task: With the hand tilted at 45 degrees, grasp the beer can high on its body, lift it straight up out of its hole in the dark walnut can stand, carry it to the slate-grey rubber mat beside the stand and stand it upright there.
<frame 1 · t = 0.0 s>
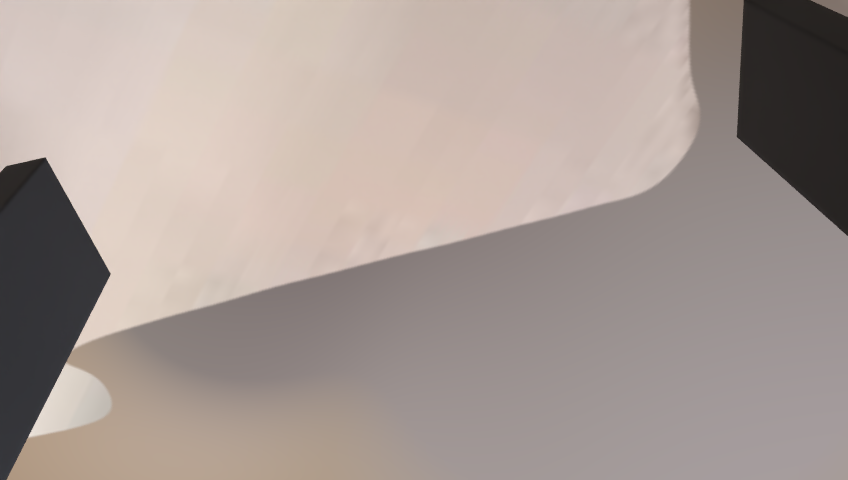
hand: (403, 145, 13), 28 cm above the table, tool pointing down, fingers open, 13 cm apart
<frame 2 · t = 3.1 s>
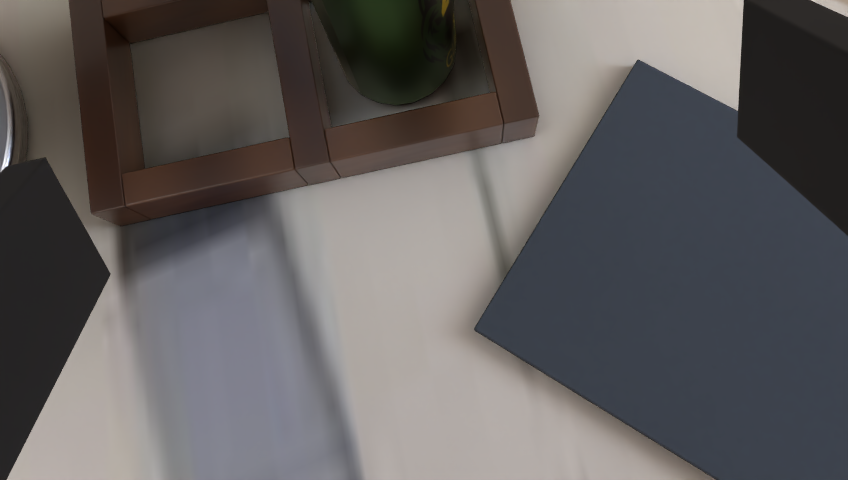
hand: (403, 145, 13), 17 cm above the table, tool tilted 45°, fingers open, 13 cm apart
beer can: (399, 58, 33), resting in can stand
slate mat: (767, 313, 29), on the table
can stand: (306, 77, 33), on the table
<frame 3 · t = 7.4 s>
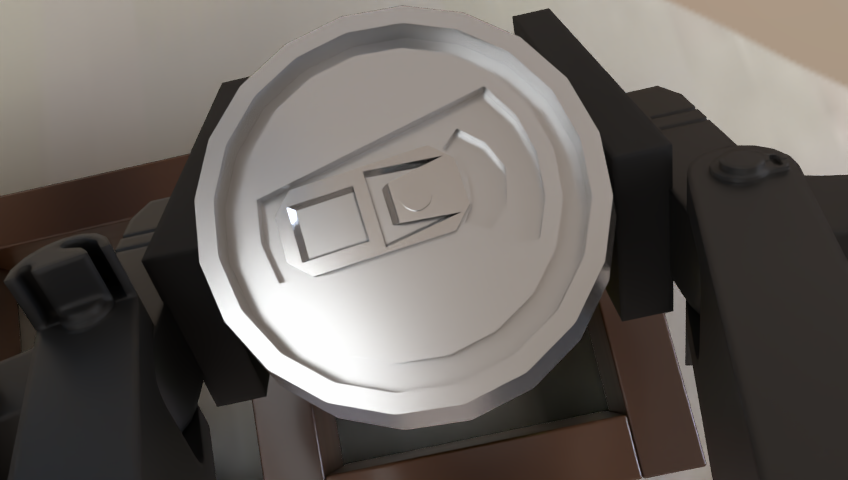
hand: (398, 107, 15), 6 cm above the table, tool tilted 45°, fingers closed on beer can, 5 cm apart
beer can: (447, 306, 20), resting in can stand, touching gripper
can stand: (296, 337, 20), on the table
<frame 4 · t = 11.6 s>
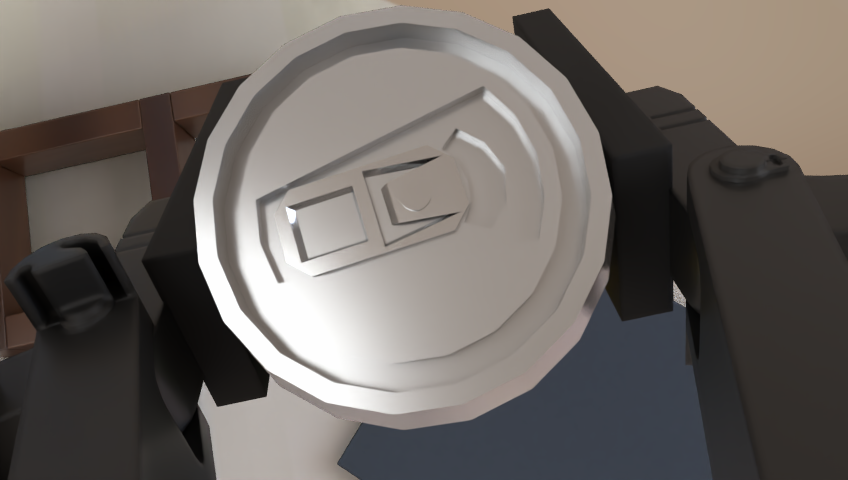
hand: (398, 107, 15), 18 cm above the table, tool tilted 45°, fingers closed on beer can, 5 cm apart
beer can: (446, 306, 20), point 12 cm above the table, touching gripper
slate mat: (612, 448, 31), on the table
can stand: (190, 212, 34), on the table
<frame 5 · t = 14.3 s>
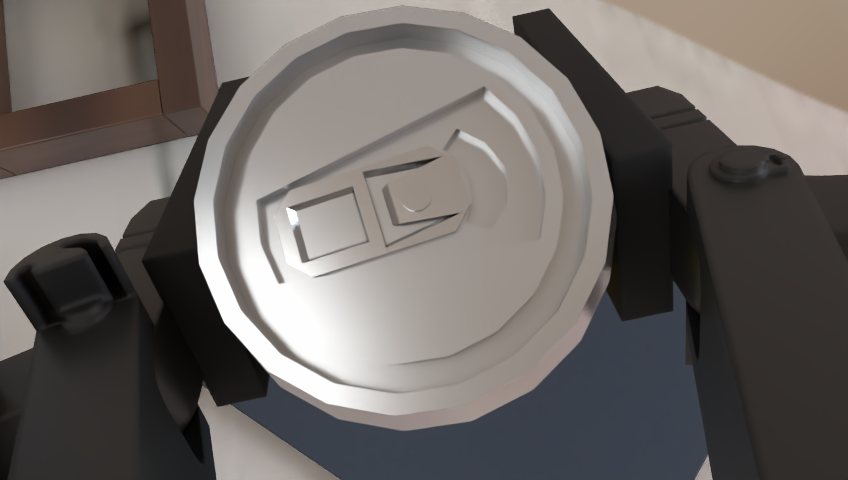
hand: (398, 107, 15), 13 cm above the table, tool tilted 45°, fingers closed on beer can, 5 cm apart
beer can: (447, 306, 20), point 6 cm above the table, touching gripper
slate mat: (453, 321, 26), on the table
when the fingers open (6 cm above the table, at t = 16.3 s): beer can stays where it is, resting on slate mat.
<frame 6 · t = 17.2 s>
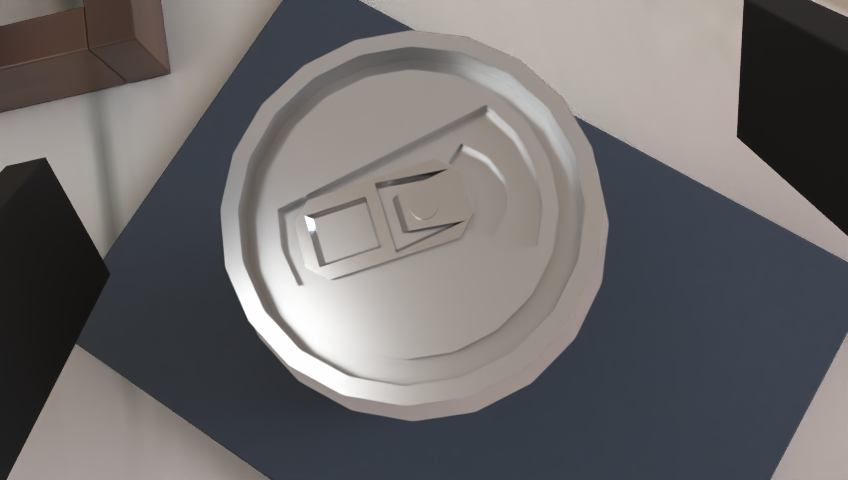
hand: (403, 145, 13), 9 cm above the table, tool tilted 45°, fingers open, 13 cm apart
beer can: (450, 307, 21), resting on slate mat
slate mat: (449, 306, 21), on the table
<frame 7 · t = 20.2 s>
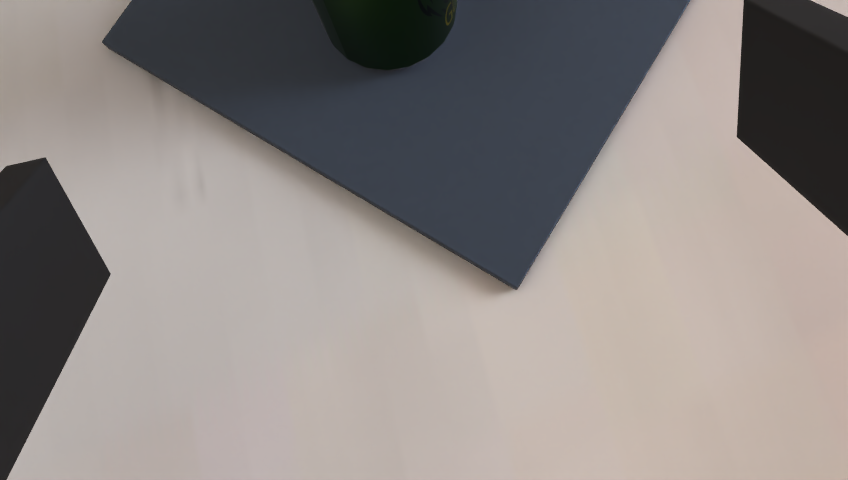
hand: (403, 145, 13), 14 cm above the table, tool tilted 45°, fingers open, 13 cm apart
beer can: (392, 19, 28), resting on slate mat
slate mat: (392, 22, 29), on the table
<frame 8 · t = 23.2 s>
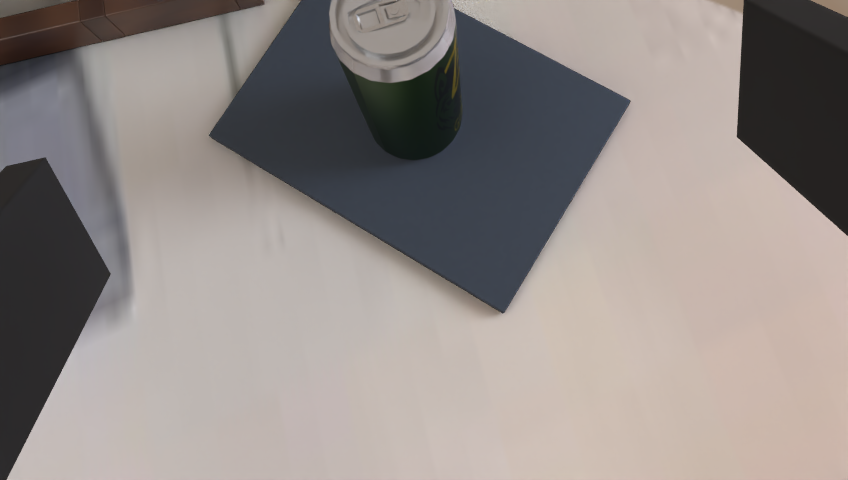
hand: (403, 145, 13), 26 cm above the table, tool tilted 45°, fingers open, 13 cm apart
beer can: (416, 120, 40), resting on slate mat
slate mat: (416, 121, 41), on the table
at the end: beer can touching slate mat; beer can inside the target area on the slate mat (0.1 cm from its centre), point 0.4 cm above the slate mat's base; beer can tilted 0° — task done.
